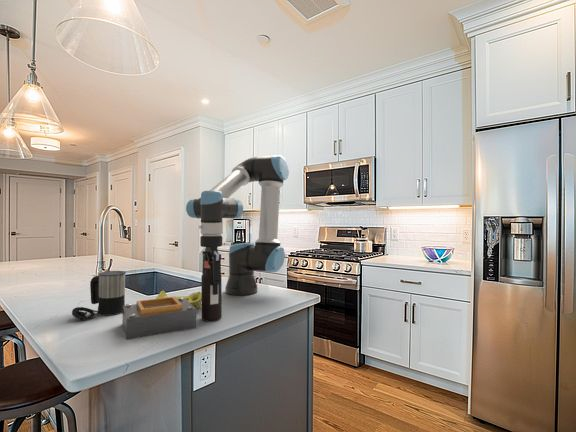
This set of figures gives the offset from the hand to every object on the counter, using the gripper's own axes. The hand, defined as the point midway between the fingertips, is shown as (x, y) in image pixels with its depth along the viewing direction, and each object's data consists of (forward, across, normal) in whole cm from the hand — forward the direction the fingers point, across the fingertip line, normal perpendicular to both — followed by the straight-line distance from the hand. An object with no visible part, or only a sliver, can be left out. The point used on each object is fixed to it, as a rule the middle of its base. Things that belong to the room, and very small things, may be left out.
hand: (211, 301), depth 112 cm
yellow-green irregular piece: (+6, -19, -6) cm, 21 cm away
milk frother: (+6, -24, -33) cm, 42 cm away
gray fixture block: (+6, -1, -17) cm, 18 cm away
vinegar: (+6, 0, 0) cm, 6 cm away
